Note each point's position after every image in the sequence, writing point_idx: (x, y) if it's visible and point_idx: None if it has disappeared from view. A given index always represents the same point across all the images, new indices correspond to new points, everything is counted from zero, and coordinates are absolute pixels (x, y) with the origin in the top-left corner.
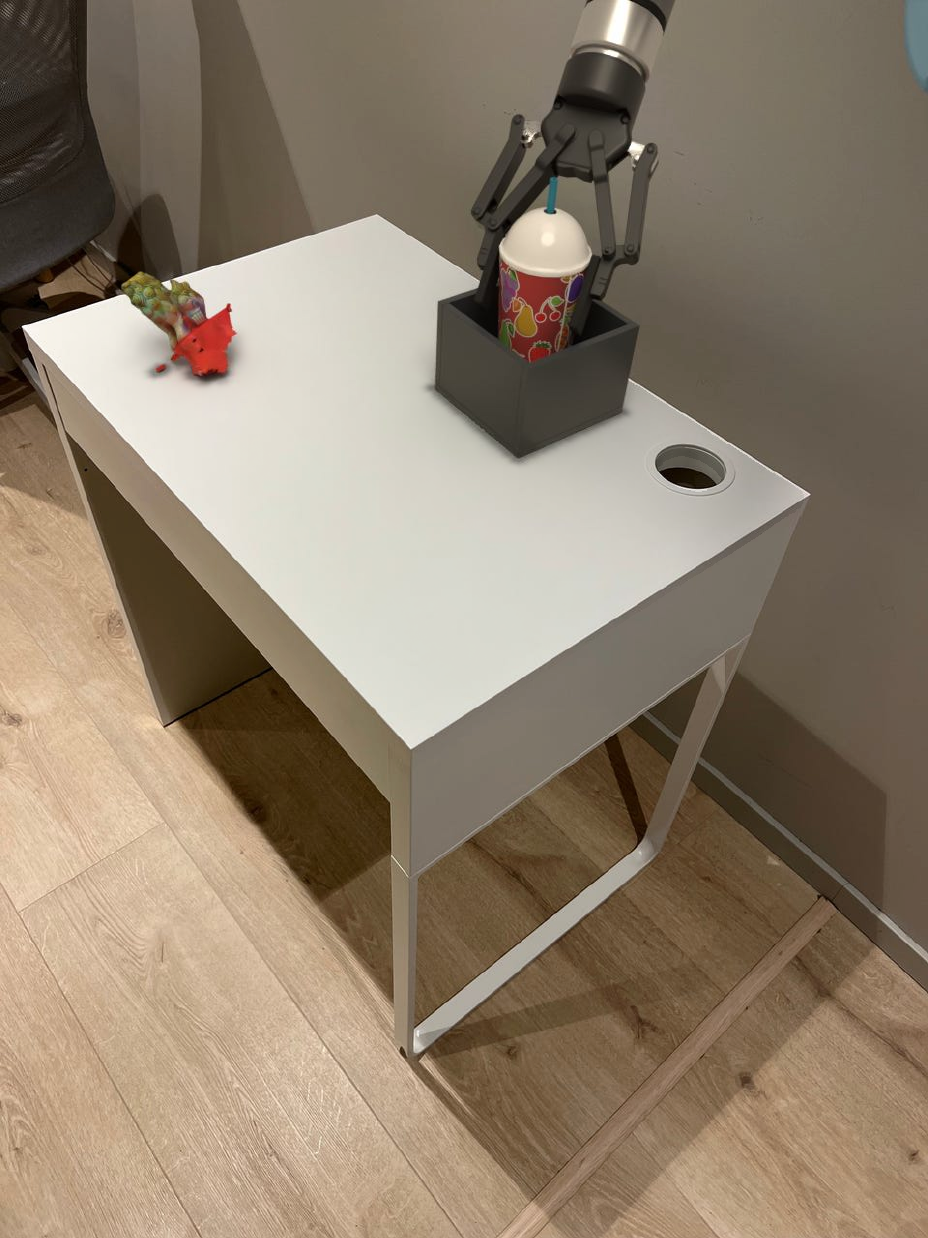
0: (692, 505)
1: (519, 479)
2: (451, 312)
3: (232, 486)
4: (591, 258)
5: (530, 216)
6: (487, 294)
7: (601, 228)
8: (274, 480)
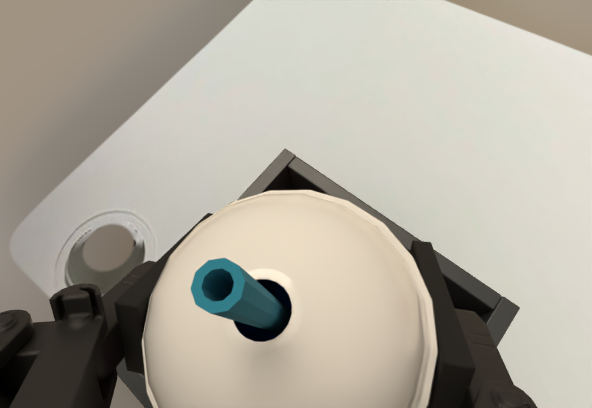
0: (112, 197)
1: None
2: (471, 275)
3: (568, 83)
4: (142, 296)
5: (342, 276)
6: None
7: (72, 381)
8: (535, 102)
